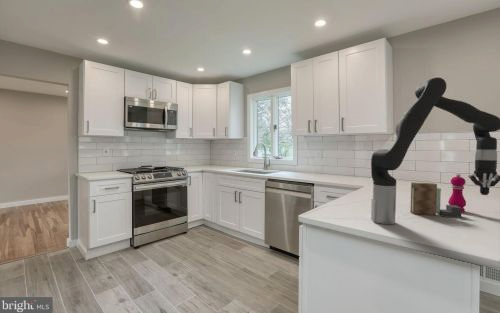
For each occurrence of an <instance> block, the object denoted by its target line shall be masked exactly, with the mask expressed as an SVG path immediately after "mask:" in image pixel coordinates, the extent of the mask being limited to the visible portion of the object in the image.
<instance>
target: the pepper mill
mask: <svg viewBox="0 0 500 313" xmlns="http://www.w3.org/2000/svg"><path fill="white" fill-rule="evenodd" d="M466 183H467V182H466V180H465V178H464V177H461V174H460V173H457V174H455V176H453V177H452V178H451V179H450V184H451V189H452V192H451V195H450V197H449V199H448V201H447V203H448V205H456V206H458V207H461V213H465V211H466V210H465V207H466V206H467V201H466V199H465V197H464V194H463V190H464V189H465V185H466Z"/></svg>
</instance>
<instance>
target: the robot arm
mask: <svg viewBox="0 0 500 313" xmlns="http://www.w3.org/2000/svg"><path fill="white" fill-rule="evenodd" d="M446 90H447V82H446V80H445V79H444V78H442V77H438V76H437V77H433V78H430V79H428V80H426V81H425V82H423V83H421V84H420V85H418V86H417V87H416V88H415V90H414V94H415V97H416V98H417V100H416V101H415V102H414V103H413V104H412V105H411V106H410V107H408V109H406V111H405V112H404V113H403V114H402V116H401V117H400V119H399V120H398V121H397V123H396V125H395V134H396V140H395V141H394V143H393V145H392V146H391V147H390V149H377V150H374V152H372V155H371V159H370V160H371V162H370V164H371V165H370V170H371V178H372V183H373V184H372V185H373V186H372V199H371V205H370V206H371V208H370V209H371V210H370V211H371V213H370V215H371V217H370V219H371V220H372V222H373V223H376V224H382V225H395V224H396V207H397V205H396V204H397V179H396V178H395V177H394V176H391V174H390V173H389V171H396V170H397V169H399V167H400V166H401V164H402V163H403V161H404V158H405V156H406V154H407V152H408V150H409V148H410V146H411V144H412V142H413V141H414V140H415V137H416V136H417V134H418V133H419V132H420V130H421V128H422V127H423V125H424V123H425V122H426V119H427V118H428V117H429V115H430V113H431V112H432V110H433V108H434V107H436V108H438V109H441V110H443V111H445V112H448V113H450V114H452V115H454V116H455V117H456V118H458V119H461V120H462V121H464V122H465V123H468V124H473V125H472V129H473V130H472V131H473V134H474V136H475V137H474V138H475V140H476V147H475V148H476V151H475V154H474V155H475V156H474V158H475V159H474V171H473V173H472V174H469V175H468V176H467V177H468V178H469V179H470V180H471V182H472V183H473V184H474V185H475V186H479V194H480V195H482V196H488V195H489V194H490V188H491V187H495V186H496V185H498V183H499V182H500V174H498V171H497V167H498V166H497V165H498V140H497V138H496V137H493V136H491V134H490V133H494V132H498V131H500V117H499V116H498V115H497V116H496V115H494V114H492V113H489V112H486V111H483V110H480V109H479V108H477V107H475V106H474V105H472V104H470V103H467V102H465V101H462V100H458V99H453V98H447V97H445V96H443V95H444V94H445V92H446Z"/></svg>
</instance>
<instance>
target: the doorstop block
mask: <svg viewBox="0 0 500 313" xmlns="http://www.w3.org/2000/svg"><path fill="white" fill-rule="evenodd" d="M436 214H437V215H439V216H441V217H446V218H460V219H461V218H462V212H461V207H458V206H456V205H450V204H446V206H445V209H442V208H440V213H436Z"/></svg>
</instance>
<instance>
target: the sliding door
mask: <svg viewBox="0 0 500 313" xmlns="http://www.w3.org/2000/svg"><path fill="white" fill-rule="evenodd" d="M441 191H442V188H440V187H439V188H438V187H437V199H436V214H437V213H440V209H441V196H442V195H441V194H442V192H441ZM412 211H413V190H412Z"/></svg>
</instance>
